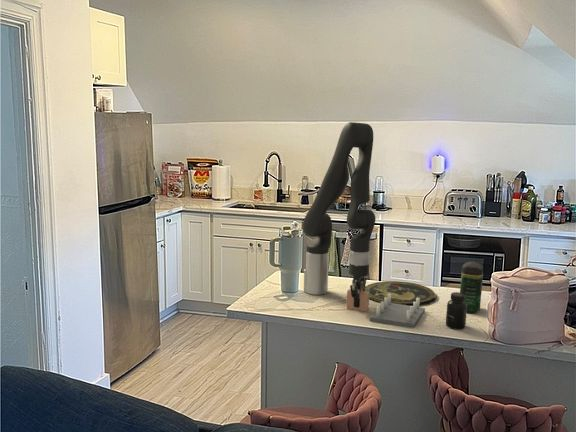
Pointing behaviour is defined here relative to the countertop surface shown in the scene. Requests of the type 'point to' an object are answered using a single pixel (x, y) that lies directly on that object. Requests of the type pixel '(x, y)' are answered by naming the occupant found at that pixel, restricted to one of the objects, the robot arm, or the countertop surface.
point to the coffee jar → (472, 285)
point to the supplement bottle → (456, 311)
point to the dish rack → (398, 313)
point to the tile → (363, 301)
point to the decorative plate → (400, 293)
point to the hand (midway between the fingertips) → (357, 305)
